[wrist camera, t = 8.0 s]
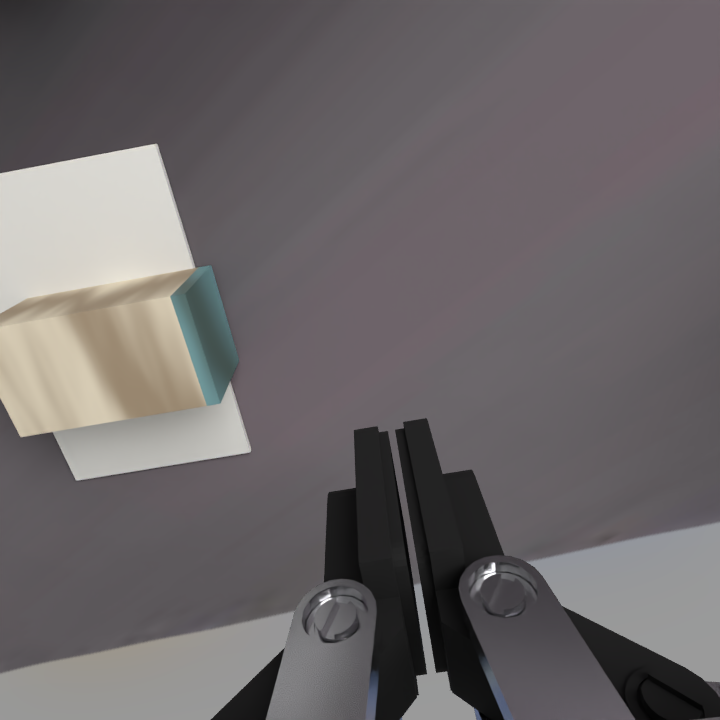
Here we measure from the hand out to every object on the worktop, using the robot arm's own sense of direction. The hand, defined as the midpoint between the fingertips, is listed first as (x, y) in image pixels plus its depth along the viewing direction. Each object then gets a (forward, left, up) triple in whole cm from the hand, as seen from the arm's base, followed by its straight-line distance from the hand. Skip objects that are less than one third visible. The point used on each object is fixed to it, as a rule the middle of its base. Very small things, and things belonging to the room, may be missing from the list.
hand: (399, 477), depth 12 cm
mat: (+13, 0, -15) cm, 20 cm away
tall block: (+7, 0, -12) cm, 14 cm away
